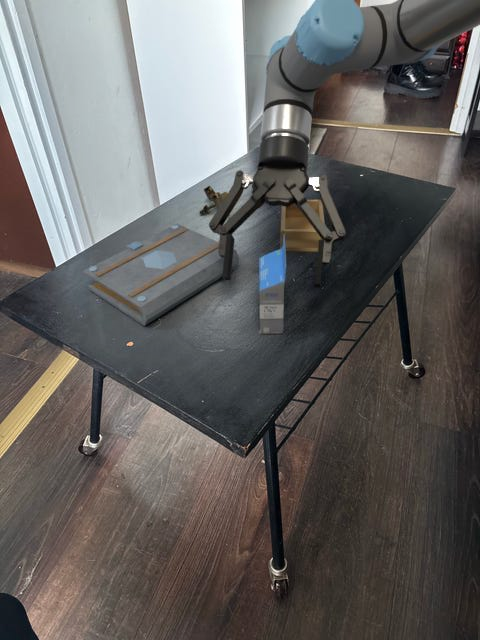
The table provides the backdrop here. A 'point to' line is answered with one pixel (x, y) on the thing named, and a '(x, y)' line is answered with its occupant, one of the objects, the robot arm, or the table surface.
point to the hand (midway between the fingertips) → (271, 282)
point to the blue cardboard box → (272, 291)
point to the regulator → (213, 199)
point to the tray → (300, 228)
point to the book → (158, 272)
